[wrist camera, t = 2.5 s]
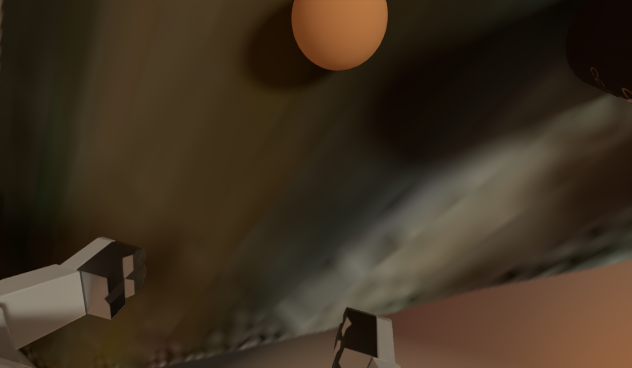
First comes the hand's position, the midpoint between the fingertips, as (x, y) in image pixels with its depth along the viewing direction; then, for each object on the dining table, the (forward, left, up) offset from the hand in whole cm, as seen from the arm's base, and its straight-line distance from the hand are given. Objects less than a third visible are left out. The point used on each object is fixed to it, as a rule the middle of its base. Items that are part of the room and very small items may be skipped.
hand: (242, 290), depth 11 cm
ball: (-9, 0, -13) cm, 16 cm away
